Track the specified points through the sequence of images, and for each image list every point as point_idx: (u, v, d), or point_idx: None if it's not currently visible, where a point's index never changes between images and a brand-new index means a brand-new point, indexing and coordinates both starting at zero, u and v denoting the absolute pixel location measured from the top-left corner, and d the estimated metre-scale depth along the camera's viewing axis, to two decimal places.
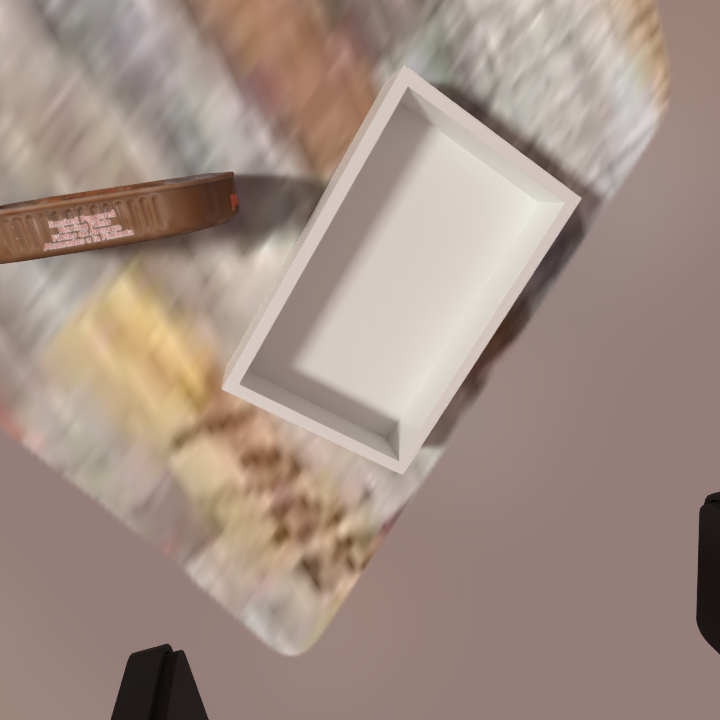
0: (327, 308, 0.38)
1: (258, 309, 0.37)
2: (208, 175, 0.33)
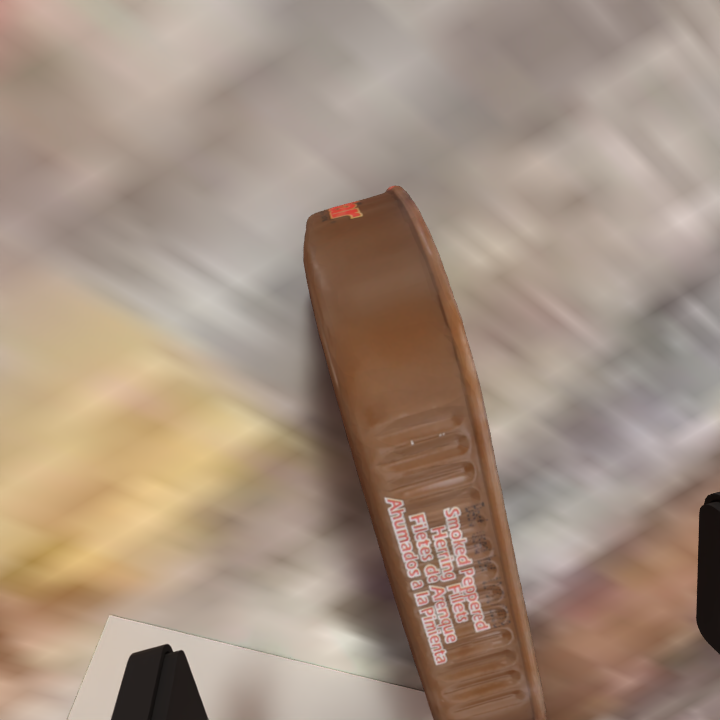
0: None
1: (239, 649, 0.20)
2: None
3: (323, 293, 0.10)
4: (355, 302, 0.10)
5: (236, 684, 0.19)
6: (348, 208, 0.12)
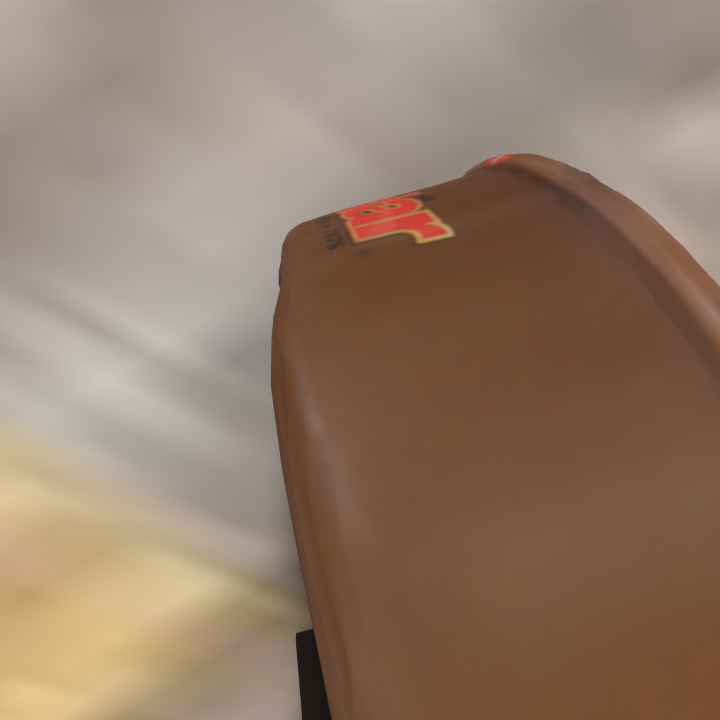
0: None
1: None
2: None
3: (347, 550, 0.03)
4: (482, 611, 0.02)
5: None
6: (399, 211, 0.04)
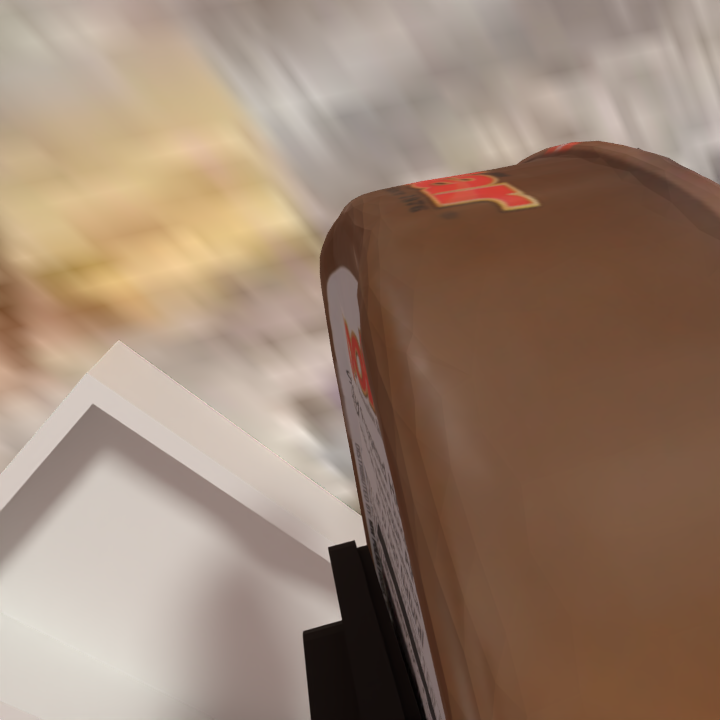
0: (197, 510, 0.25)
1: (211, 408, 0.24)
2: None
3: (458, 484, 0.03)
4: (597, 545, 0.02)
5: (208, 421, 0.23)
6: (476, 183, 0.04)
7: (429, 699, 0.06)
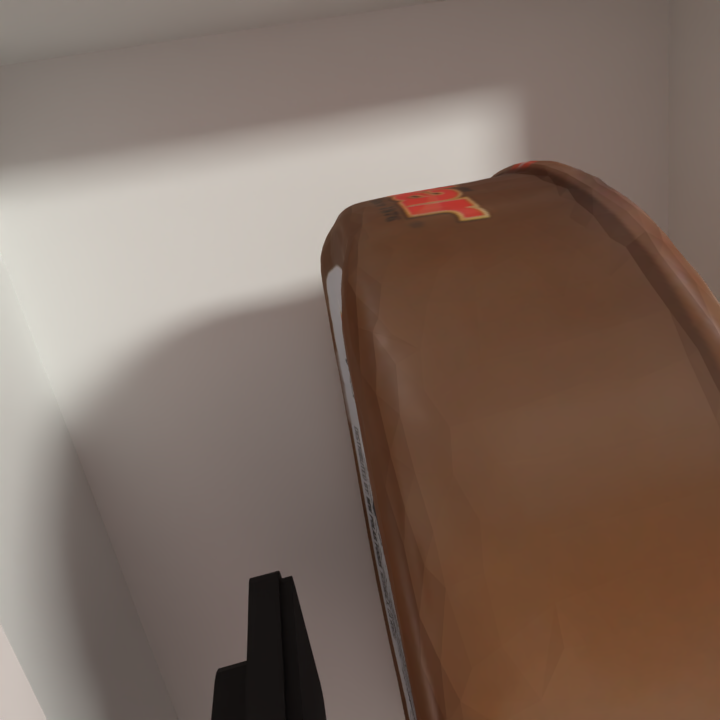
0: None
1: None
2: None
3: (405, 428, 0.03)
4: (502, 470, 0.03)
5: None
6: (443, 197, 0.05)
7: None
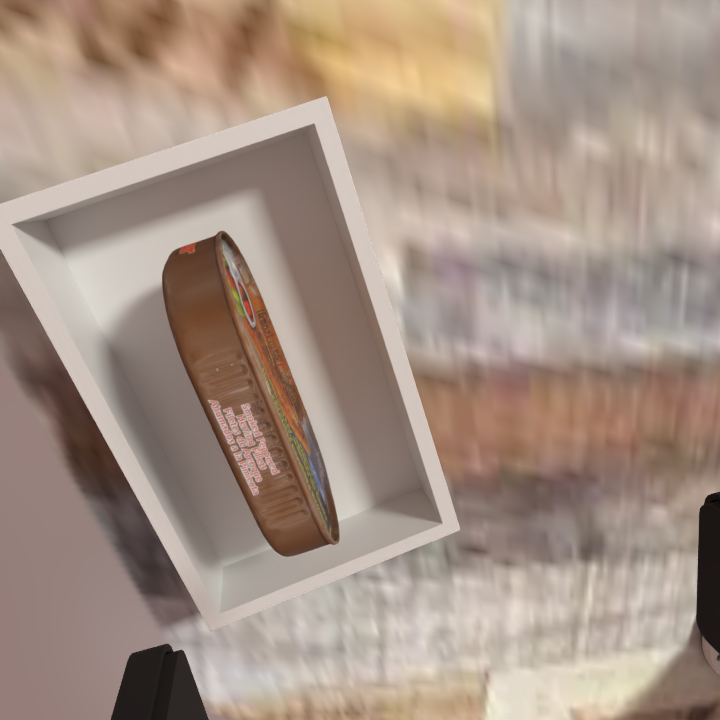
0: (289, 287, 0.27)
1: None
2: (323, 468, 0.29)
3: (168, 295, 0.19)
4: (183, 299, 0.19)
5: None
6: (190, 247, 0.21)
7: None
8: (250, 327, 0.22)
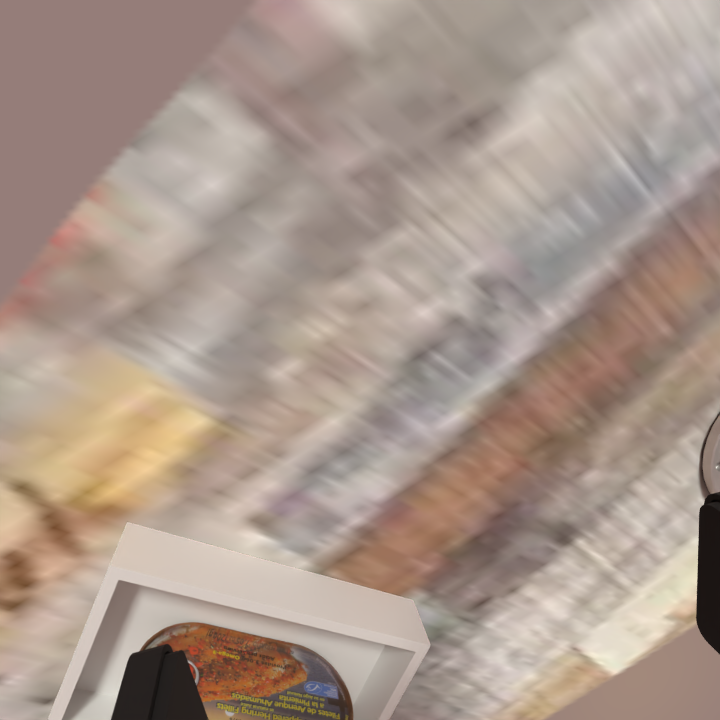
0: (210, 604, 0.38)
1: (197, 542, 0.37)
2: (327, 665, 0.40)
3: None
4: None
5: (195, 556, 0.36)
6: None
7: None
8: None
